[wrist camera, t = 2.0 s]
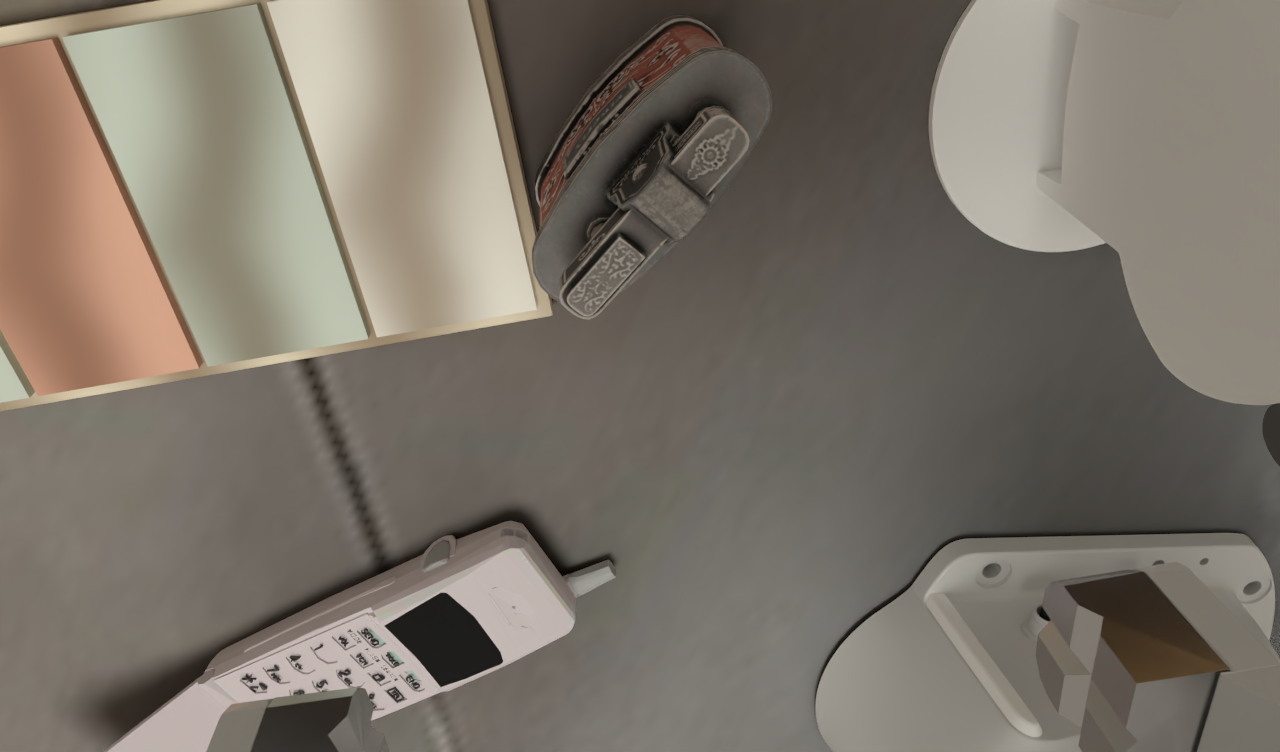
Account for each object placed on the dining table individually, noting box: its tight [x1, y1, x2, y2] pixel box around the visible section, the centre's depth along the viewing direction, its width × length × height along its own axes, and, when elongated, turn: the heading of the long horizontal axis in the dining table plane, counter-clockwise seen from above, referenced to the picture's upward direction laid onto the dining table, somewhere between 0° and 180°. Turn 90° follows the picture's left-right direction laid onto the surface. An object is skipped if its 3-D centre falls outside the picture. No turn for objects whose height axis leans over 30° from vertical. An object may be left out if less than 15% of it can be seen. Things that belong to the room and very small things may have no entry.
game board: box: [0, 0, 553, 411], centre depth 29 cm, size 25×12×1 cm, turn 98°
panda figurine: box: [929, 0, 1280, 466], centre depth 24 cm, size 12×11×15 cm
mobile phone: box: [103, 521, 616, 752], centre depth 37 cm, size 6×6×25 cm
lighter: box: [532, 15, 772, 319], centre depth 25 cm, size 8×3×10 cm, turn 139°
